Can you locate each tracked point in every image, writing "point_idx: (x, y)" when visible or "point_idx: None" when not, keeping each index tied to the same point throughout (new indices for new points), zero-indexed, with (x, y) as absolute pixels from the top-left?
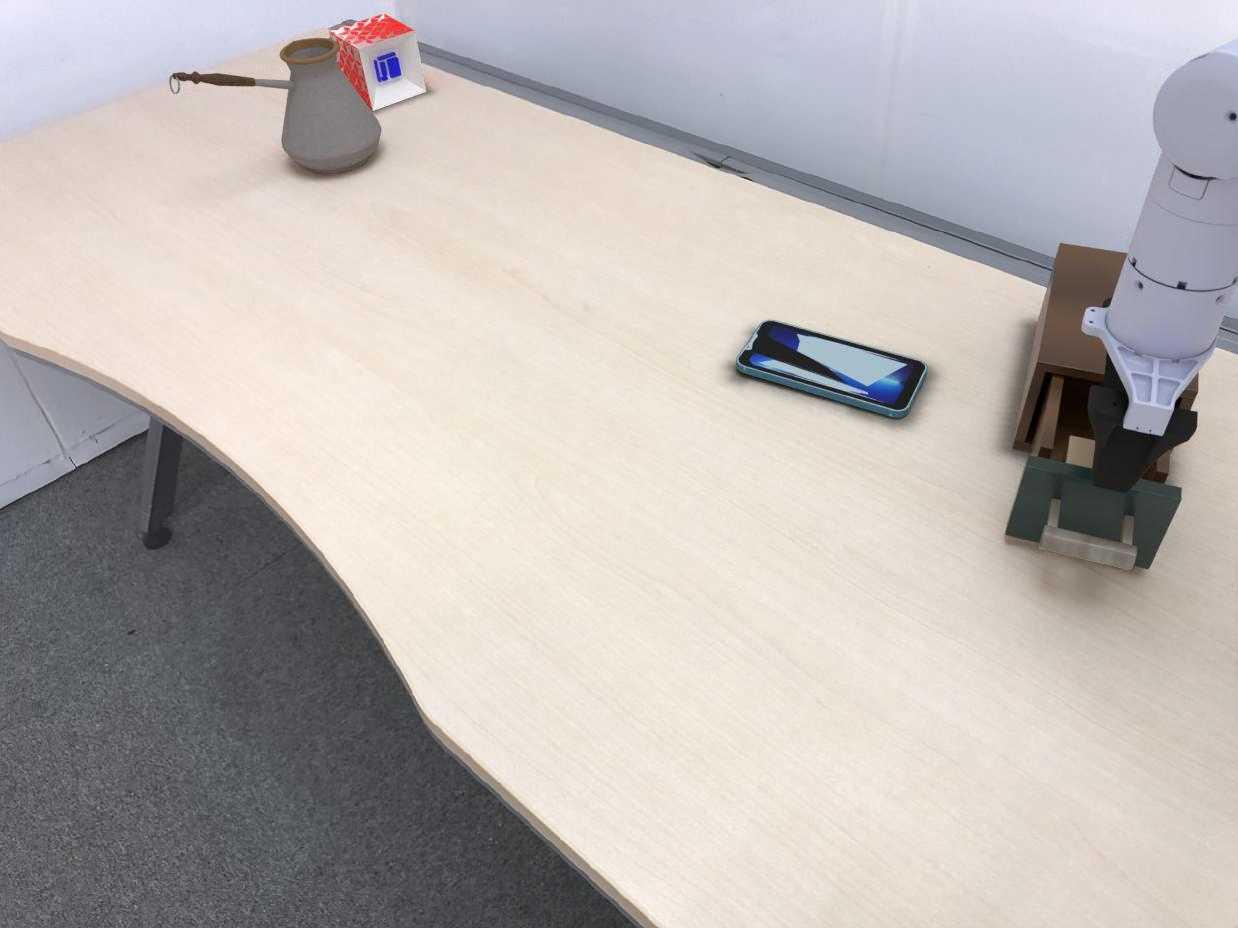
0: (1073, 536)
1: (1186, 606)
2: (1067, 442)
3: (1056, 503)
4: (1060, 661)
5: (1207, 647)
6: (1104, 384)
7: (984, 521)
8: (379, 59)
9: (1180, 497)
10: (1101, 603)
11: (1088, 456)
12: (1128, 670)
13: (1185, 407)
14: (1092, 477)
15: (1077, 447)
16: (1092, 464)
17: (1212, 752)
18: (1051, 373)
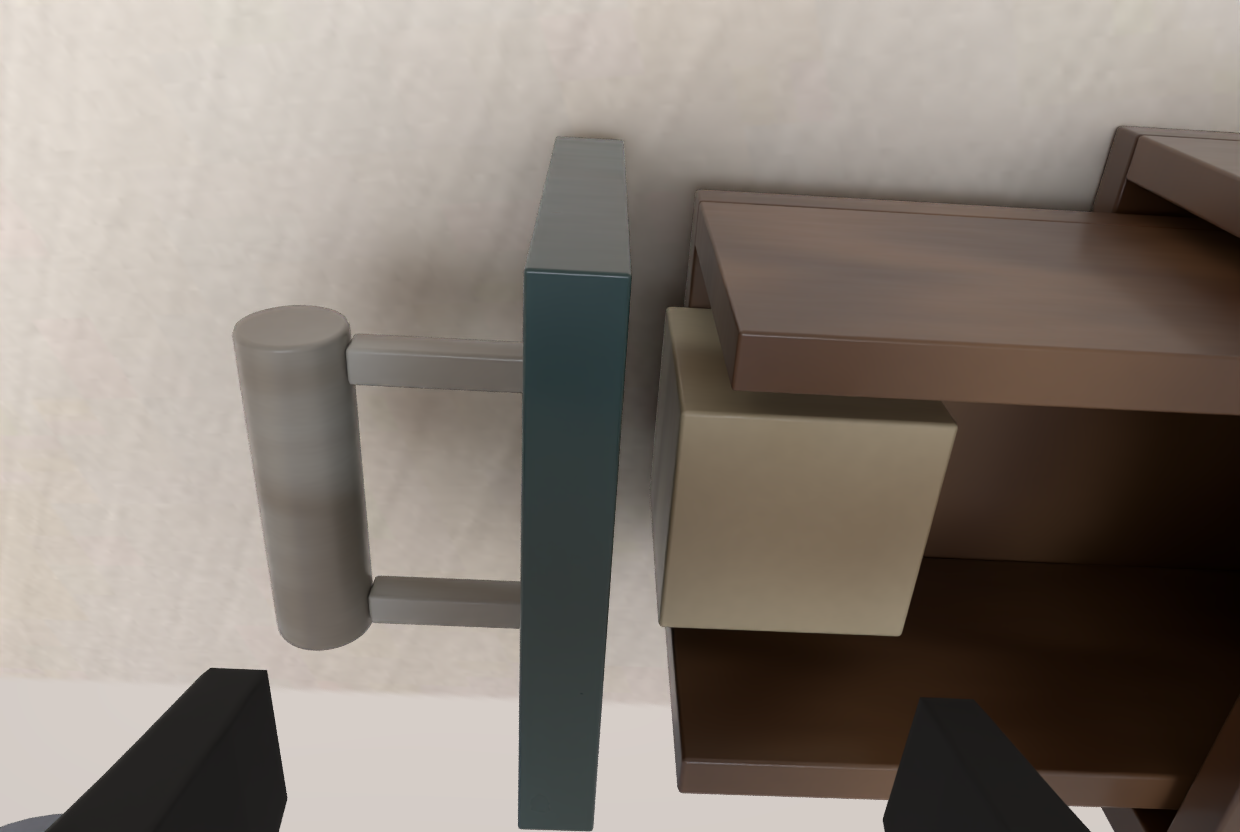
0: (283, 455)
1: None
2: (936, 405)
3: (500, 377)
4: (118, 338)
5: (360, 656)
6: (994, 828)
7: (664, 47)
8: None
9: (530, 828)
10: (404, 438)
11: (817, 498)
12: (187, 501)
13: (1124, 826)
14: (177, 703)
15: (869, 458)
16: (128, 768)
17: (42, 653)
18: None
